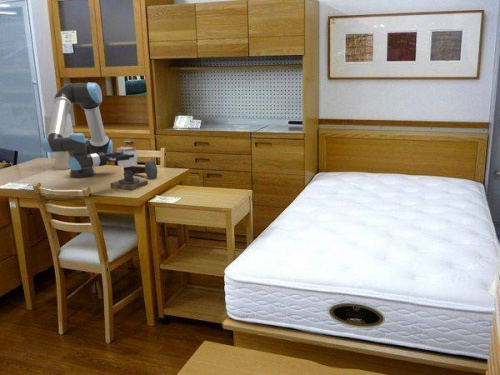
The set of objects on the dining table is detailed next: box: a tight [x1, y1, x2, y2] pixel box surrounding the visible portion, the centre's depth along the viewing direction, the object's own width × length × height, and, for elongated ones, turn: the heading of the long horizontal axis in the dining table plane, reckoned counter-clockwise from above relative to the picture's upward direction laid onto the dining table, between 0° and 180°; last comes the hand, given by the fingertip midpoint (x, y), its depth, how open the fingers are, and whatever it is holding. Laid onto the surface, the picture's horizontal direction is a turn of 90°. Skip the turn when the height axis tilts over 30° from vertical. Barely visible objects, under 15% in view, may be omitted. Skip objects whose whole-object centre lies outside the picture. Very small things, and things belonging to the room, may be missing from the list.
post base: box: [110, 170, 149, 191], centre depth 288 cm, size 14×16×9 cm
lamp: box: [43, 113, 75, 171], centre depth 339 cm, size 19×19×37 cm
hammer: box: [123, 160, 158, 180], centre depth 314 cm, size 5×11×30 cm
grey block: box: [116, 146, 138, 168], centre depth 285 cm, size 8×8×10 cm
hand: (134, 153), depth 288 cm, fingers closed on grey block, 8 cm apart
